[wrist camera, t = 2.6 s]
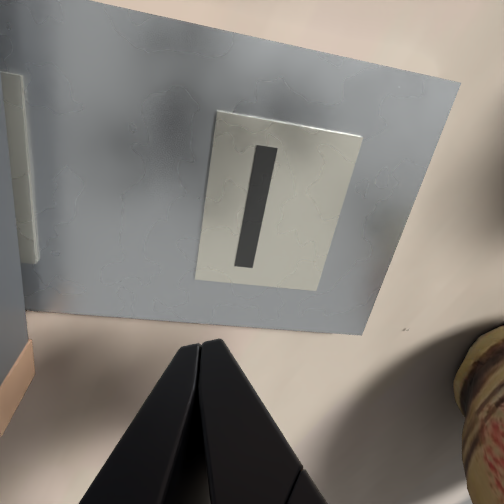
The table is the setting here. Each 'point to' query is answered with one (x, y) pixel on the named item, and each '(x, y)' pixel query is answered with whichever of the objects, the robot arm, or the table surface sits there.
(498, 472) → the ceramic jug
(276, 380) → the table surface
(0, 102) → the swing bar
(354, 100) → the panel
